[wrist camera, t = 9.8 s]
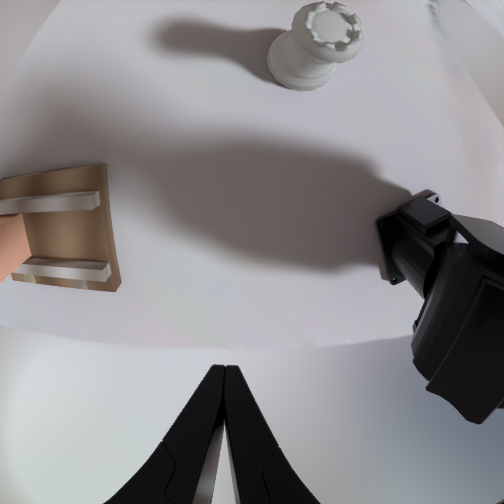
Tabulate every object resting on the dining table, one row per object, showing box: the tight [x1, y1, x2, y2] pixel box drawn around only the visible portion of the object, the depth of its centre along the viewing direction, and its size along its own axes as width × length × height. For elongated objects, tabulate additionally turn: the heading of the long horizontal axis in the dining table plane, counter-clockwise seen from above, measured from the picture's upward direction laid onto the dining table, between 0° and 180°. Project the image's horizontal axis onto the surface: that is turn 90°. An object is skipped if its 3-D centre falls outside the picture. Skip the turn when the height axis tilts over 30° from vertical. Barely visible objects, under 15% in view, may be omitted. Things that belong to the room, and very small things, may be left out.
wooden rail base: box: [0, 164, 122, 292], centre depth 18 cm, size 13×10×3 cm
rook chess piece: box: [267, 1, 364, 91], centre depth 12 cm, size 4×4×8 cm
